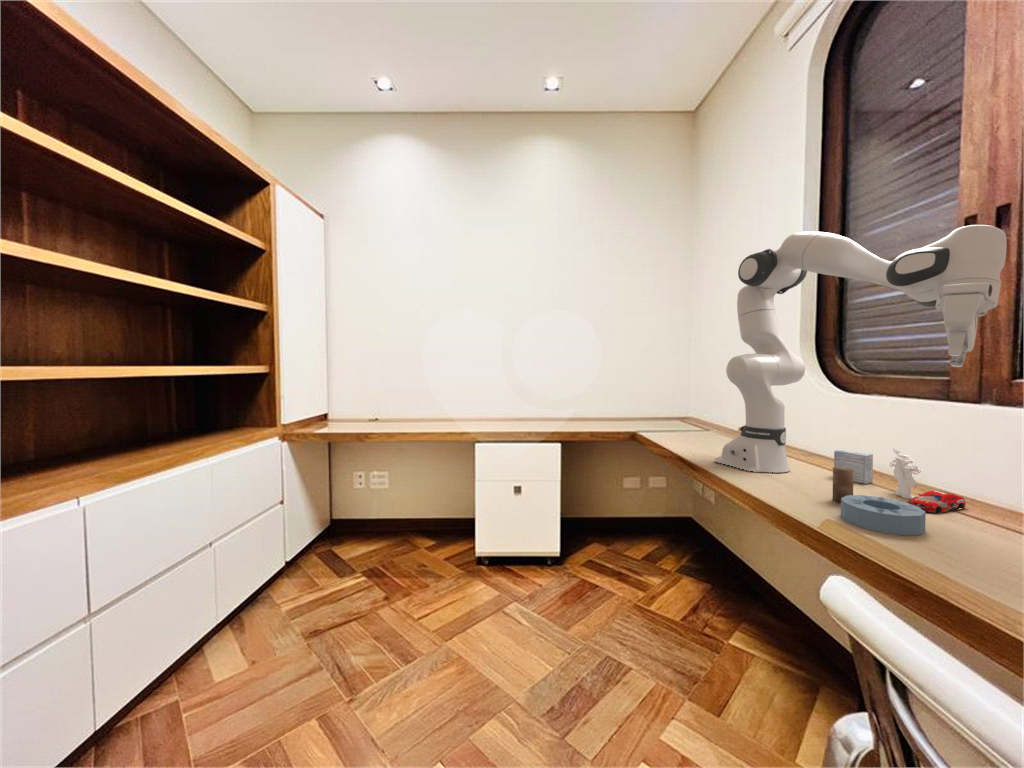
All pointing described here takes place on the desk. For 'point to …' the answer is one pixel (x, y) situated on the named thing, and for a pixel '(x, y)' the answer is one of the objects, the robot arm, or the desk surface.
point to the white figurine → (904, 474)
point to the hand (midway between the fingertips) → (955, 360)
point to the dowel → (842, 483)
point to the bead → (883, 514)
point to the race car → (938, 501)
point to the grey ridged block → (856, 464)
